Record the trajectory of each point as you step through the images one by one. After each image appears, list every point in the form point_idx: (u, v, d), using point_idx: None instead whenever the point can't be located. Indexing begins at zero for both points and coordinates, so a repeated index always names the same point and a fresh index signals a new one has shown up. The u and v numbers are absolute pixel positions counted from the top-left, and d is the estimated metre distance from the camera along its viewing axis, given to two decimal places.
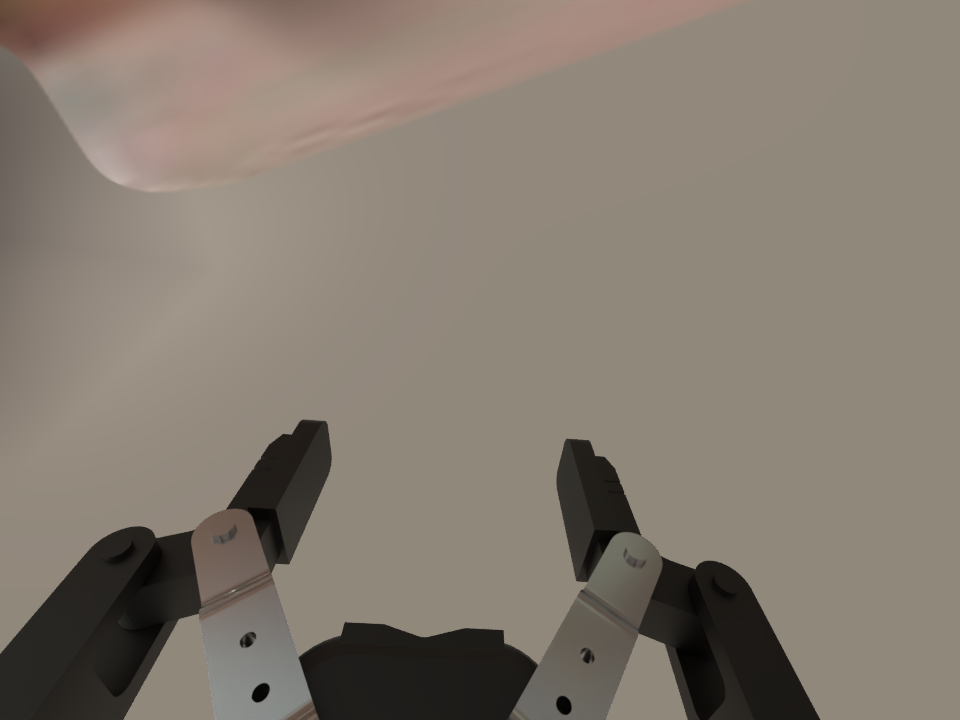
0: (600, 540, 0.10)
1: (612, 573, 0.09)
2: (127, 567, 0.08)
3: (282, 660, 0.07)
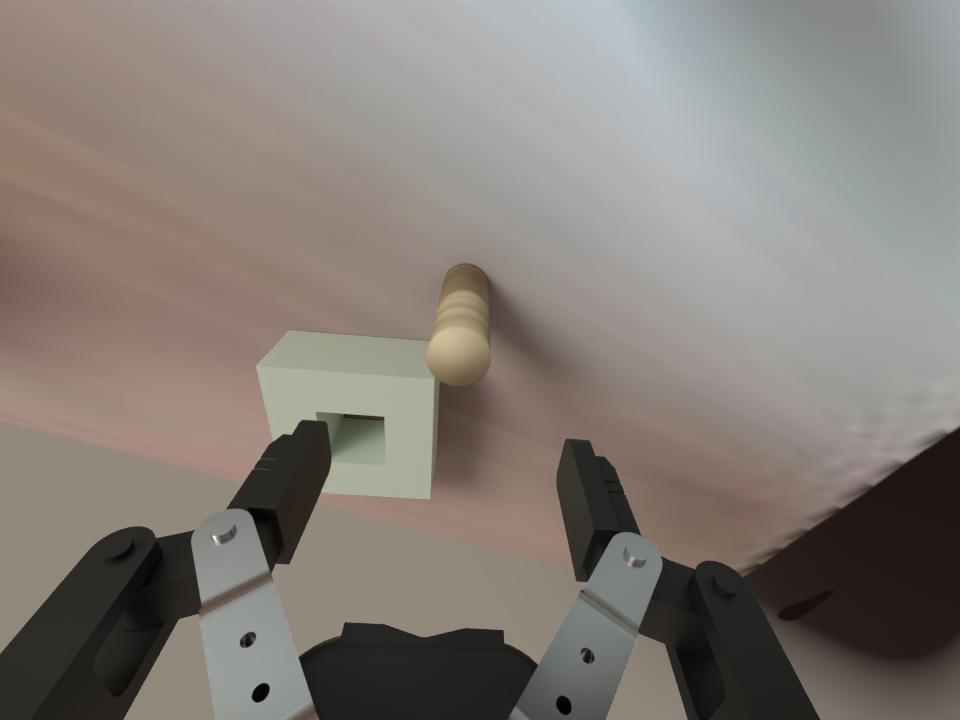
0: (600, 540, 0.10)
1: (612, 573, 0.09)
2: (127, 567, 0.08)
3: (282, 660, 0.07)
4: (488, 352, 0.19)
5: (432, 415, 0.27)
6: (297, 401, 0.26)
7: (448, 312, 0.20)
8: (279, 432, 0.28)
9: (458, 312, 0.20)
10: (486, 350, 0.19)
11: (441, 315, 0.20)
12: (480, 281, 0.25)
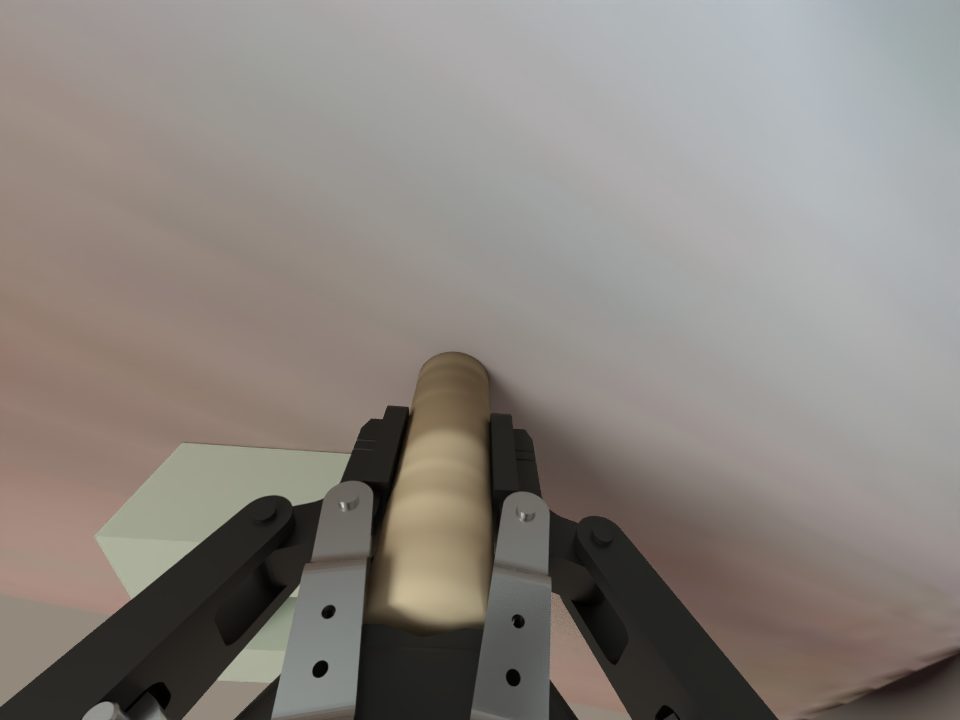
0: (501, 500, 0.11)
1: (499, 525, 0.10)
2: (275, 529, 0.09)
3: (346, 648, 0.07)
4: None
5: None
6: None
7: (410, 506, 0.10)
8: None
9: (429, 513, 0.10)
10: None
11: (397, 509, 0.10)
12: (476, 393, 0.15)
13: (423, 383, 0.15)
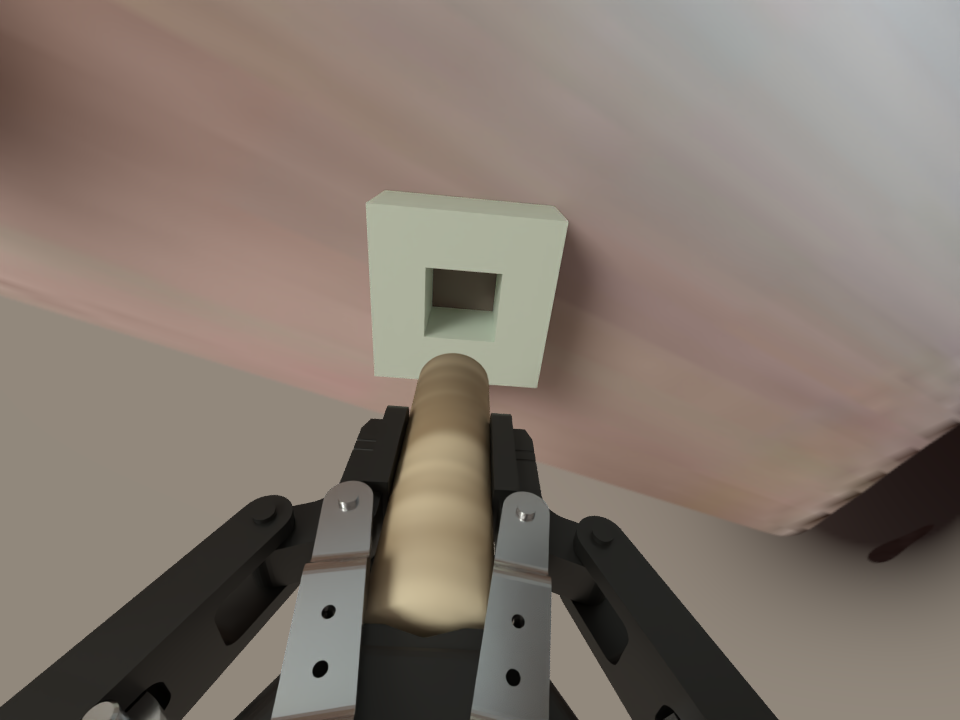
0: (501, 500, 0.11)
1: (499, 525, 0.10)
2: (275, 529, 0.09)
3: (346, 647, 0.07)
4: None
5: (557, 272, 0.24)
6: (406, 253, 0.23)
7: (410, 507, 0.10)
8: (380, 296, 0.24)
9: (429, 515, 0.10)
10: None
11: (397, 510, 0.10)
12: (476, 394, 0.15)
13: (423, 384, 0.15)
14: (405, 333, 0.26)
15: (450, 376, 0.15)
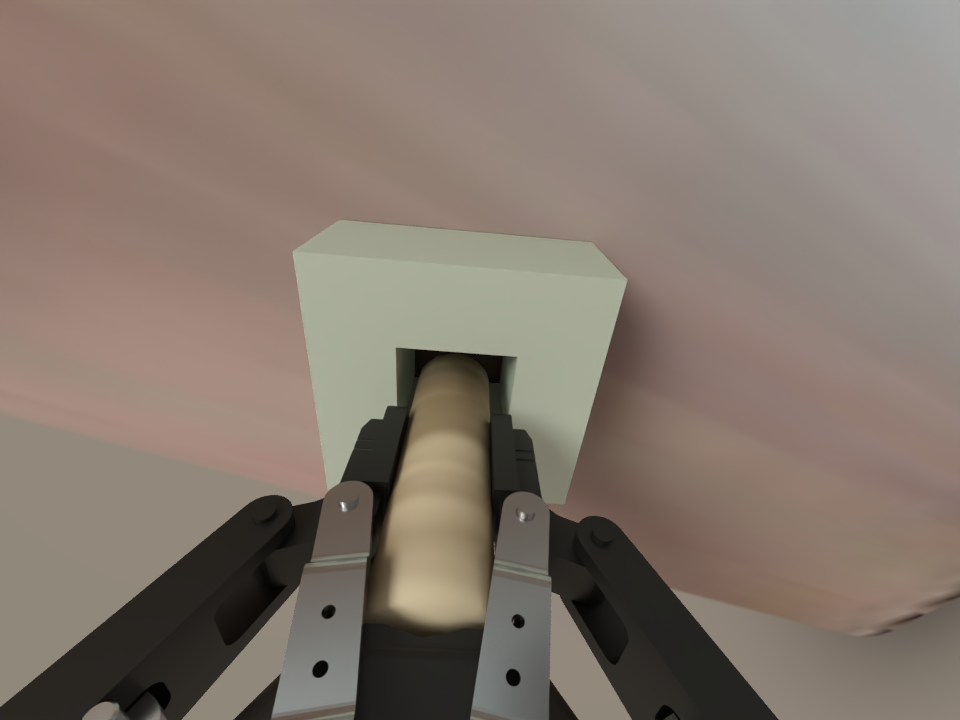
0: (501, 500, 0.11)
1: (499, 525, 0.10)
2: (275, 529, 0.09)
3: (346, 647, 0.07)
4: None
5: (604, 354, 0.15)
6: (364, 326, 0.14)
7: (410, 507, 0.10)
8: (327, 387, 0.16)
9: (429, 515, 0.10)
10: None
11: (397, 511, 0.10)
12: (476, 394, 0.15)
13: (423, 384, 0.15)
14: None
15: (450, 376, 0.15)
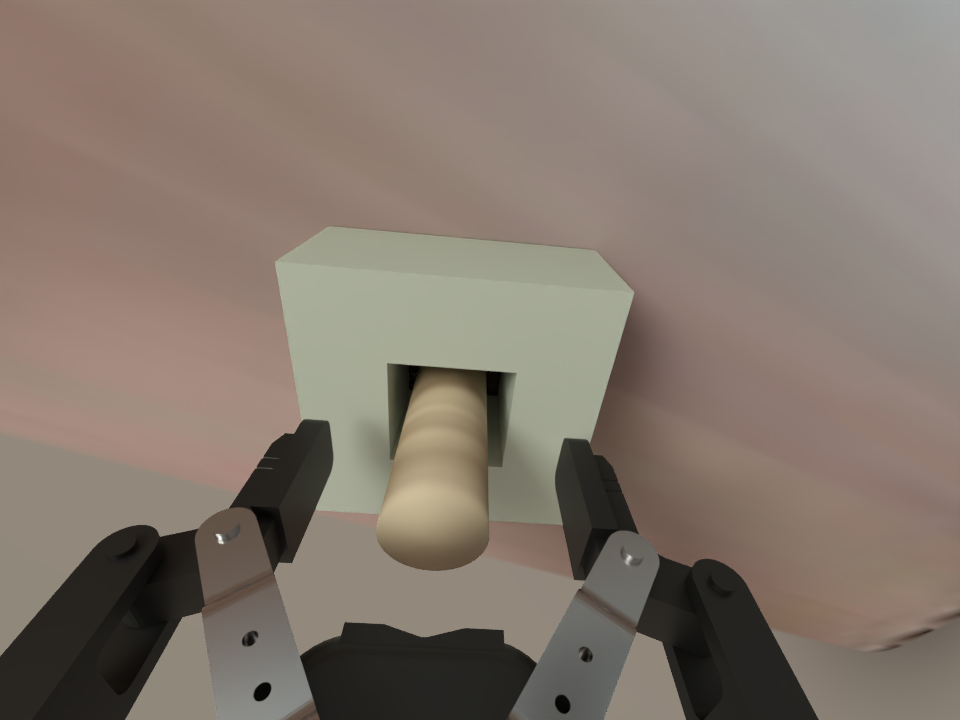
0: (597, 539, 0.10)
1: (609, 571, 0.09)
2: (131, 565, 0.08)
3: (283, 659, 0.07)
4: (485, 526, 0.11)
5: (608, 371, 0.14)
6: (353, 341, 0.13)
7: (418, 437, 0.12)
8: (314, 405, 0.15)
9: (434, 441, 0.12)
10: (481, 523, 0.10)
11: (408, 441, 0.12)
12: None
13: None
14: (360, 455, 0.16)
15: None
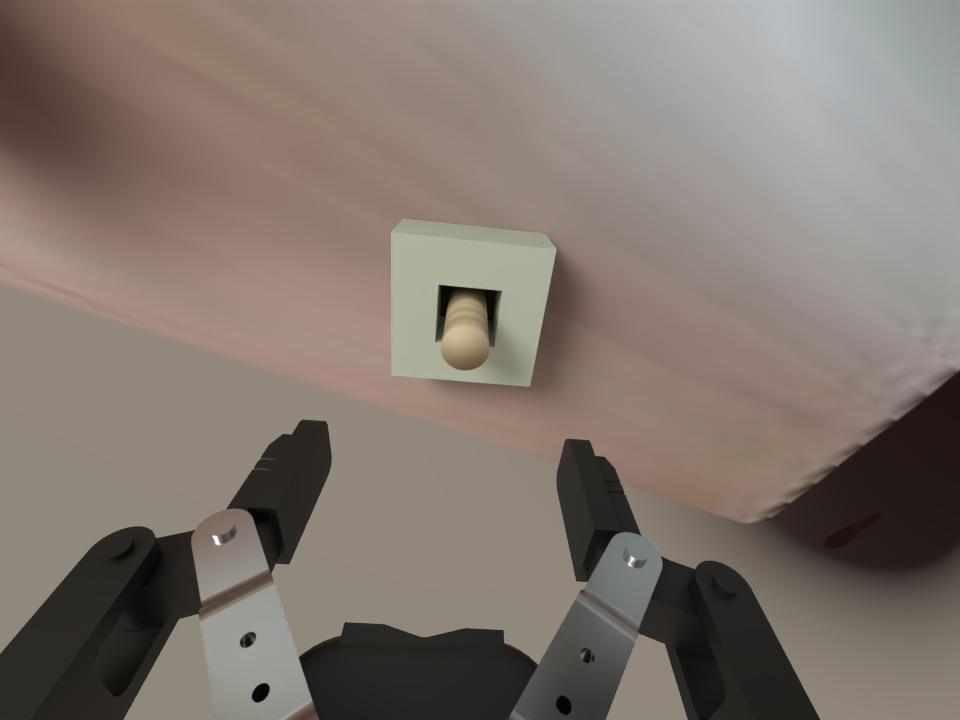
0: (600, 540, 0.10)
1: (612, 573, 0.09)
2: (127, 567, 0.08)
3: (282, 660, 0.07)
4: (487, 344, 0.25)
5: (547, 290, 0.29)
6: (423, 272, 0.28)
7: (457, 314, 0.26)
8: (399, 308, 0.29)
9: (464, 314, 0.26)
10: (486, 342, 0.25)
11: (451, 316, 0.27)
12: (480, 291, 0.31)
13: (454, 288, 0.32)
14: (419, 339, 0.30)
15: None
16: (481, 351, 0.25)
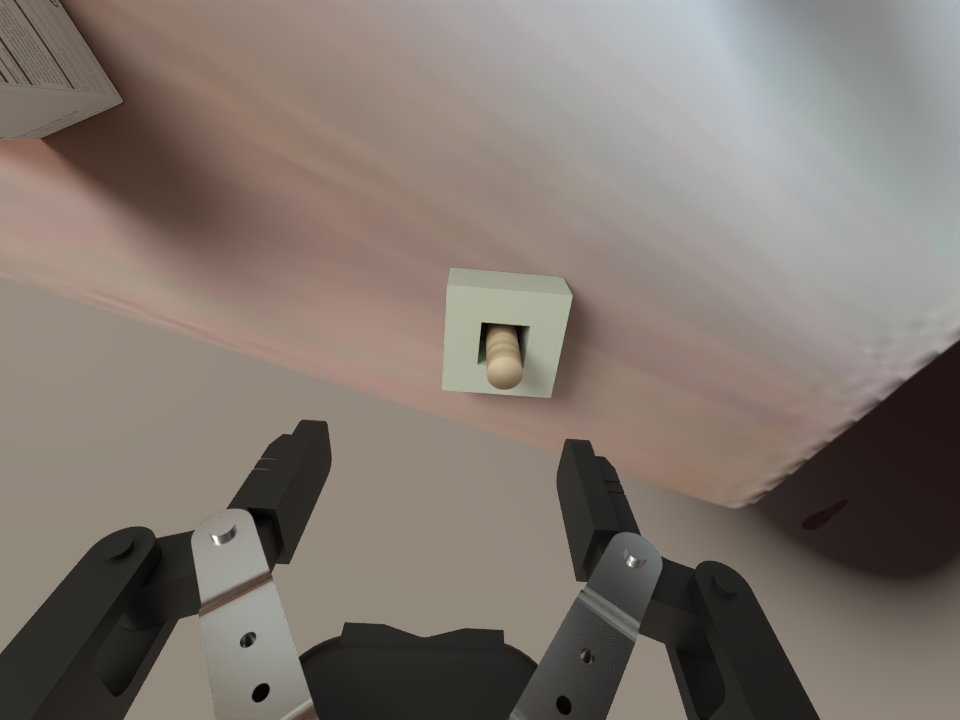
0: (600, 540, 0.10)
1: (612, 573, 0.09)
2: (127, 567, 0.08)
3: (282, 660, 0.07)
4: (521, 370, 0.33)
5: (565, 325, 0.37)
6: (470, 313, 0.36)
7: (497, 346, 0.35)
8: (450, 339, 0.38)
9: (503, 347, 0.35)
10: (520, 369, 0.33)
11: (493, 348, 0.35)
12: None
13: None
14: (465, 362, 0.39)
15: None
16: (516, 375, 0.34)
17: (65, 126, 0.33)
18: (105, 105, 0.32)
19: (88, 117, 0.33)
